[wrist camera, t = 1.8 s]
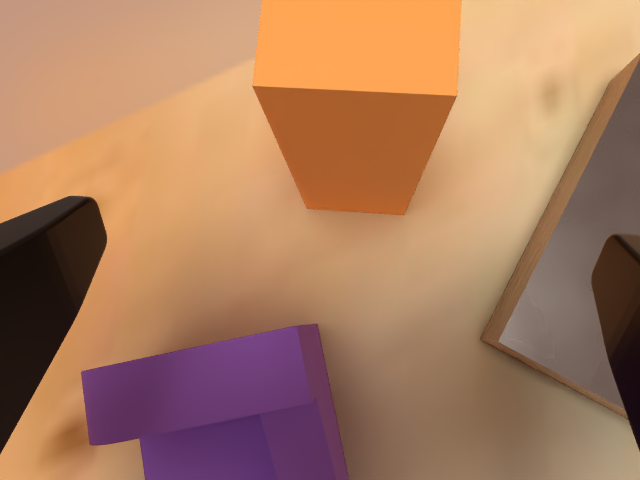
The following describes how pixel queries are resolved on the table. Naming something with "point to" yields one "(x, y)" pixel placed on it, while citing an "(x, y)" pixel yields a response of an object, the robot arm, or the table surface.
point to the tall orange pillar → (357, 94)
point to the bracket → (224, 410)
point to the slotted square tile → (577, 252)
